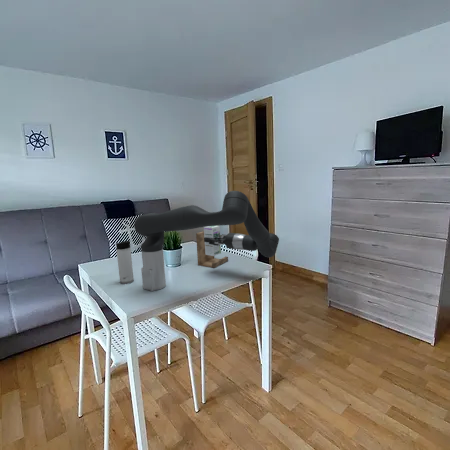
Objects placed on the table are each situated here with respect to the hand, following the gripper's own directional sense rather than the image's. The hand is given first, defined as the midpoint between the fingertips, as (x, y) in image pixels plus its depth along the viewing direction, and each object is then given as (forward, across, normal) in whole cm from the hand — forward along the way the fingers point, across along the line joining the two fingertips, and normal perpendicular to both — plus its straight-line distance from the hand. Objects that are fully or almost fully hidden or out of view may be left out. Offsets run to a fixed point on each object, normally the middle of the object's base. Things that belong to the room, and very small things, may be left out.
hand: (208, 238), depth 141 cm
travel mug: (+27, +30, +18) cm, 44 cm away
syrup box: (-2, 0, +8) cm, 9 cm away
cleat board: (+6, -12, +18) cm, 22 cm away
